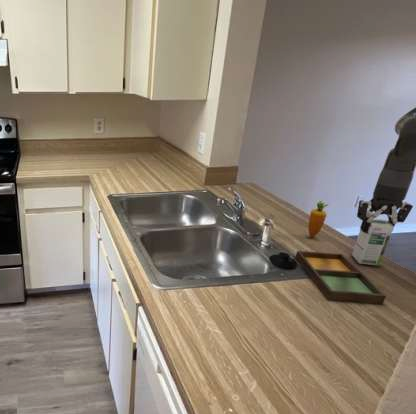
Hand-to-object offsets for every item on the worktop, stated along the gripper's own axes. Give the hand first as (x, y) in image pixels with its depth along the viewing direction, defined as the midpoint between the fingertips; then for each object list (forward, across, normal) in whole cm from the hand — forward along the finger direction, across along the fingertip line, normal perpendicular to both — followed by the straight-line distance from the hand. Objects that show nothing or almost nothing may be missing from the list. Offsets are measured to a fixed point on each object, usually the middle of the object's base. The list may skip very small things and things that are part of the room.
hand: (375, 232), depth 106 cm
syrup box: (+11, 0, 0) cm, 11 cm away
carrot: (+11, -10, +15) cm, 21 cm away
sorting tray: (+11, -15, -12) cm, 22 cm away
